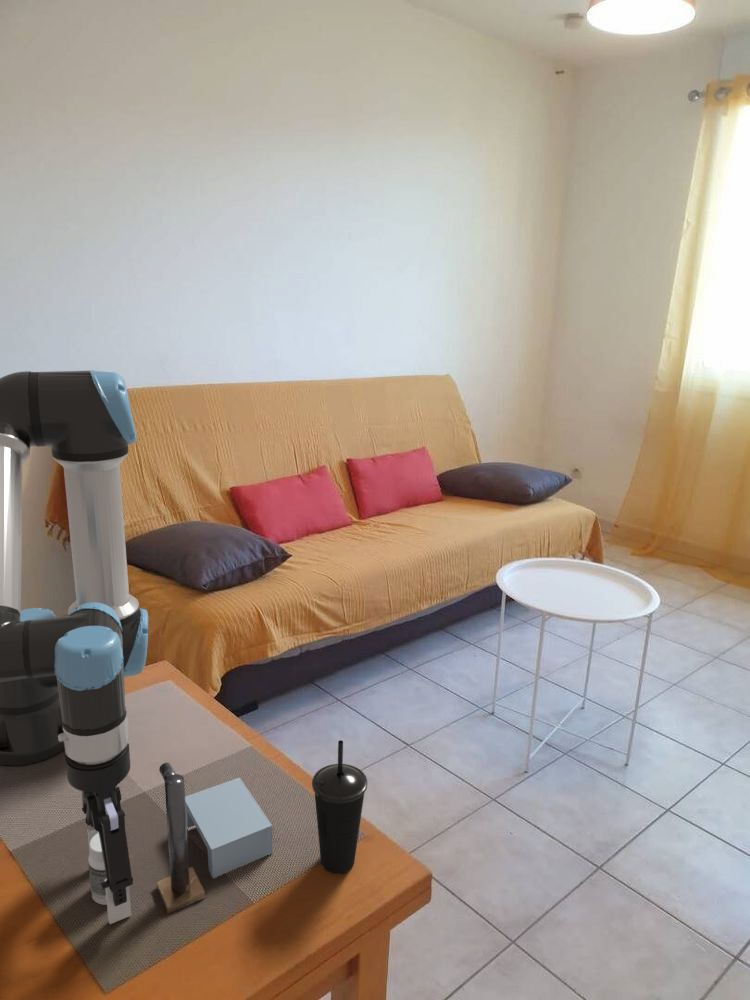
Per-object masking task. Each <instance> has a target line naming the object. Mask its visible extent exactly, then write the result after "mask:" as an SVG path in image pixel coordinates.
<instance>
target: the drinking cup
mask: <svg viewBox="0 0 750 1000" xmlns="http://www.w3.org/2000/svg"><path fill="white" fill-rule="evenodd" d="M343 757H344V741H343V740H338V741H337V763H333V764H328V765H326V766H323V767H322V768H320V769H319V770H317V772H315V773H314V775H313V777H312V781H311V786H312V787H311V788H312V790H313V792H314V800H315V801H314V802H315V810H316V822H317V834H318V843H319V844H318V845H319V854H320V855H319V856H320V864H321V867H322V868H323V869H324V870H325V871H326V872H328V873H330V874H334V875H340V874H343V875H344V874H345V873H348V872H349V871H350V870H351V869H352V868H354V865H355V861H356V860H355V859H356V853H357V846H358V841H359V832H360V827H361V819H362V811H363V805H364V797H365V792H366V791H367V788H368V778H367V776H366V774H365V773H364V771H363V770H361V769H359V768H358V767H356V766H354V765H350V764H346V763H343V761H344V758H343Z"/></svg>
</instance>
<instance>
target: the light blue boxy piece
mask: <svg viewBox="0 0 750 1000" xmlns="http://www.w3.org/2000/svg"><path fill="white" fill-rule="evenodd" d="M185 806H186V825H187V827H188V828H189V827H191V826H194V825H195V826H196V830H197V832H198V834H199V836H200V837H201V839H202V841H203V843H204V845H205V847H206V848H207V862H208V865H207V866H208V872H209V871H210V873H211V875H210V876H212V877H213V878H214V877H215V876H218V875H221V876H223V875H222V874H224V873H225V872H228V871H231V870H233V869H235V870H237V869H236V868H238V867H240V866H241V867H240V868H242V866H243V865H245V864H247V865H249V864H248V863H250V862H252V861H254V862H256V861H255V860H257V859H259V860H261V859H260V858H262V857H264V856H266V857H268V856H267V855H269V856H271V855H273V824H272V823H271V821H270V820H269V818H268V817H267V816H266V814H265V813H264V811H263V809H262V808H261V806H260V805H259V804H258V802H257V801H256V799H255V798H254V796H253V795H252V793H251V792H250V790H249V788H248V787H247V786H246V785H245V783H244V782H243V780H242V778H241V777H237V778H234V779H232V780H231V779H230V780H228V781H225V782H223V783H220V784H218V785H217V784H216V785H214V786H212V787H208V788H206V789H203V790H200V791H197V792H194V793H191V794H189V795H185ZM270 854H271V855H270ZM264 858H265V857H264ZM262 859H263V858H262ZM257 861H258V860H257ZM252 863H253V862H252ZM250 864H251V863H250ZM245 866H246V865H245ZM243 867H244V866H243ZM238 869H239V868H238ZM233 871H234V870H233ZM231 872H232V871H231ZM210 873H209V874H210ZM228 873H229V872H228ZM224 875H225V874H224ZM212 877H211V878H212ZM214 879H215V878H214Z"/></svg>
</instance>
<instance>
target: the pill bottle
mask: <svg viewBox="0 0 750 1000" xmlns="http://www.w3.org/2000/svg"><path fill="white" fill-rule="evenodd" d="M87 861H88V862H87V863H88V864H87V865H88V871H89V873H88V874H89V882H90V883H89V884H90V893H91V898H92V900H93V901H94V902H95V903H97V904H99V905H101V906H102V905H105V906H107V900H106V889H102V886H101V883H103V882H105V879H107V877H106V871H105V866H104V860H103V854H102V848H101V843H100V837H99V833H97V834H96V835H95V836H94V837H93V838H92V839H91V841H90V852H89V855H88V859H87Z"/></svg>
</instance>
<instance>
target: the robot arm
mask: <svg viewBox="0 0 750 1000" xmlns="http://www.w3.org/2000/svg"><path fill="white" fill-rule="evenodd" d="M130 402H131V401H130V398H129V394H128V389H127V384H126V381H125V379H124V378H123V376H122V375H121V374H119V373H117V372H114V371H113V372H112V371H103V370H101V371H98V370H69V371H68V370H62V371H61V370H59V371H57V370H56V371H28V370H27V371H16V372H12V373H9V374H6V375H4V376H2V377H0V765H1V766H2V765H3V766H11V767H12V766H15V767H17V766H23V765H24V766H25V765H30V764H35V763H39V762H42V761H44V760H48V759H50V758H51V757H54V756H55V755H57V754H60V753H61V752H63V751H64V753H65V766H66V767H65V769H66V777H67V778H66V779H67V782H68V783H69V785H70V786H71V787H72V788H73V789H75V790H77V791H80V792H81V796H82V800H81V801H82V808H81V810H82V812H83V815H85V824H86V825H87V828H86V829H87V831H86V832H87V839H88V840H87V841H88V850H89V851H88V852H89V853H90V841H91V839H92V838H93V837H94V836H95V835H96V834H97V833H99V837H100V843H101V848H102V854H103V860H104V866H105V871H106V877H107V879H105V882H103V883H101V886H102V889H106V900H107V905H106V907H107V908H106V909H107V920H108V924H109V925H112V924H114V923H117V922H119V921H121V920H124V919H126V918H129V917H131V916H132V908H131V907H132V905H131V894H130V886H133V884H134V882H133V881H134V878H133V876H132V875H133V874H132V868H131V862H130V860H131V859H130V855H129V848H128V847H129V846H128V841H127V834H126V833H127V832H126V821H125V820H126V819H125V816H126V813H125V812H124V810H123V809H122V805H121V801H122V793H121V789H120V786H118V785H119V784H120V783H121V782H123V780H124V779H126V778H127V776H128V774H129V772H130V770H131V754H130V752H131V751H130V743H129V741H130V739H129V738H130V735H129V722H128V711H127V707H126V693H125V678H128V677H132V676H136V675H139V674H140V673H142V671H144V668H145V666H146V661H147V651H148V644H149V643H148V640H149V639H148V638H149V634H148V632H149V614H148V610H147V609H145V608H141V607H140V604H139V600H138V599H137V598H136V597H135V596H133V595H131V594H130V591H129V589H130V588H129V576H128V575H129V573H128V562H127V549H126V548H127V547H126V535H125V520H124V508H123V495H122V494H123V493H122V479H121V463H122V462H123V461H124V460H125V459H126V458H127V457H128V456H129V445H133V444H135V443H136V442H137V440H138V439H137V433H136V429H135V422H134V419H133V413H132V407H131V404H130ZM32 447H38V448H40V447H50V448H51V456H52V460H54V461H55V462H57V464H59V465H60V466H62V467H63V475H64V485H65V486H64V487H65V495H66V496H65V497H66V505H67V517H68V526H69V536H70V548H71V556H72V559H71V561H72V568H73V577H74V578H73V579H74V580H73V581H74V590H75V599H76V600H74V602H73V603H72V604H71V605H70V606H69V608H68V609H67V614H68V615H66V616H58V617H57V615H56V614H55V612H53V611H52V610H51V609H48V608H42V607H33V608H32V607H31V608H30V607H29V608H25V609H22V606H21V605H22V539H23V538H22V532H23V531H22V530H23V529H22V527H23V526H22V523H23V520H22V518H23V515H22V514H23V509H22V507H23V465H24V464H25V463H26V462H28V461H29V459H30V456H31V455H30V454H31V448H32ZM88 826H90V827H88Z"/></svg>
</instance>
